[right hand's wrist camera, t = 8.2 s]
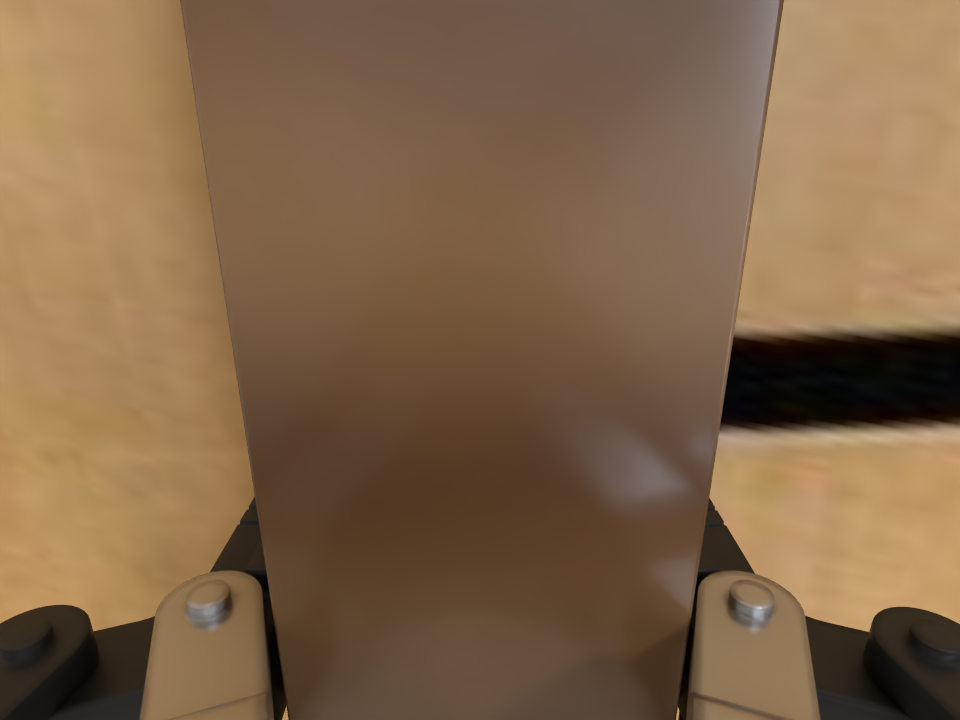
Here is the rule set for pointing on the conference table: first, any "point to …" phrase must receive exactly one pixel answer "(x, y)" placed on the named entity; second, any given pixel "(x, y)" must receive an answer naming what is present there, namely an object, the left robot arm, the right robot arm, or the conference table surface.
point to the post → (482, 333)
